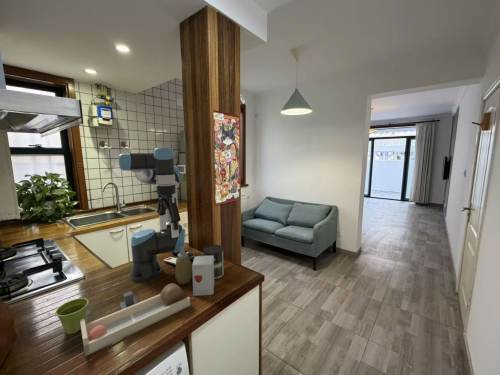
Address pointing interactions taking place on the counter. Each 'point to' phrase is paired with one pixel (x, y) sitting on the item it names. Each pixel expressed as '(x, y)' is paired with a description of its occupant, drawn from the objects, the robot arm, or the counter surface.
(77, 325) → the plant pot
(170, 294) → the hump
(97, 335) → the ball
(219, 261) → the coffee can
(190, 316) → the counter surface
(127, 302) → the tee
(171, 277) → the counter surface
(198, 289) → the supplement box
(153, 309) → the tray
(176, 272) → the squeeze bottle
